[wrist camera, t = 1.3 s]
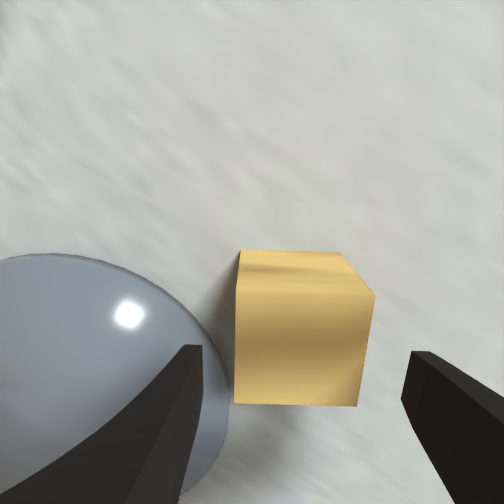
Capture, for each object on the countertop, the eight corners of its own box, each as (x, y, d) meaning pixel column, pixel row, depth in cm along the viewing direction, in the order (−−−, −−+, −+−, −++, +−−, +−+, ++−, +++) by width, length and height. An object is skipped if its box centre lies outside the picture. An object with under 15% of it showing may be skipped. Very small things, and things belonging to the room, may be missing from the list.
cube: (328, 336, 17) (356, 406, 13) (239, 334, 17) (234, 403, 13) (338, 252, 16) (375, 295, 11) (241, 249, 16) (236, 291, 11)
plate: (228, 505, 21) (227, 521, 20) (-34, 497, 21) (-47, 514, 20) (230, 258, 16) (229, 265, 15) (-123, 247, 16) (-147, 253, 15)
